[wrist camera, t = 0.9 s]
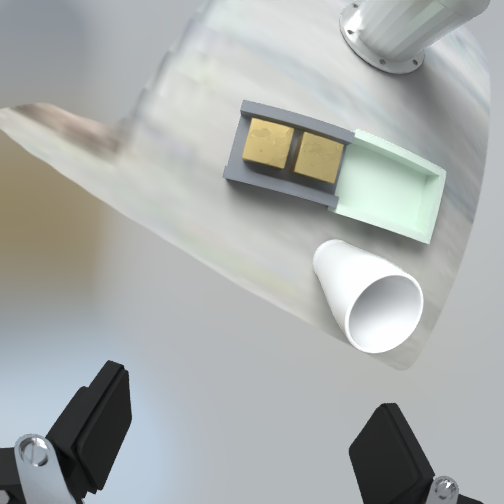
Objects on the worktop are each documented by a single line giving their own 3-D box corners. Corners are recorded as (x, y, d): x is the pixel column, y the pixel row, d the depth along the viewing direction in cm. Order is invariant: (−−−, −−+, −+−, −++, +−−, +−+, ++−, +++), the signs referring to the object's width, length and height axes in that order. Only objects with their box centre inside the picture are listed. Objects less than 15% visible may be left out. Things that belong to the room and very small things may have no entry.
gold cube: (252, 126, 28) (252, 117, 24) (288, 135, 28) (294, 128, 24) (243, 161, 28) (241, 157, 25) (279, 170, 29) (283, 168, 25)
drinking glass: (368, 248, 32) (439, 293, 17) (340, 295, 33) (390, 364, 19) (323, 221, 31) (379, 253, 17) (294, 271, 33) (325, 338, 18)
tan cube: (297, 138, 28) (304, 131, 24) (332, 149, 28) (343, 144, 24) (288, 173, 29) (294, 171, 25) (323, 183, 29) (334, 183, 25)
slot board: (244, 107, 28) (243, 99, 25) (345, 137, 29) (355, 132, 26) (225, 178, 30) (222, 177, 27) (328, 205, 31) (336, 208, 28)
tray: (346, 133, 29) (356, 128, 25) (431, 171, 29) (446, 171, 26) (327, 209, 31) (335, 212, 28) (414, 238, 32) (429, 244, 28)
